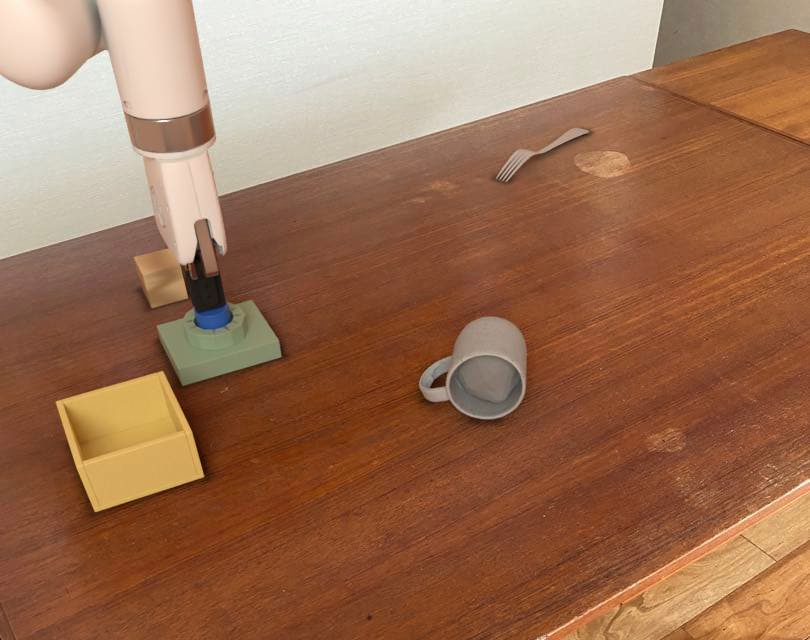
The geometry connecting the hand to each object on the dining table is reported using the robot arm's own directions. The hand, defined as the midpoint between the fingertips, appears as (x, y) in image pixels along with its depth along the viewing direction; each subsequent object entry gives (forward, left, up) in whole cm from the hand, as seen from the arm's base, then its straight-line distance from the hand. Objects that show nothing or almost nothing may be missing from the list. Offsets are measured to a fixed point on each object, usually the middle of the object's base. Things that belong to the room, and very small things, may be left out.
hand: (209, 305), depth 90 cm
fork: (+57, +25, -6) cm, 62 cm away
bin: (-12, -14, -6) cm, 20 cm away
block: (-2, +14, -6) cm, 15 cm away
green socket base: (0, 0, -6) cm, 6 cm away
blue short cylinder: (0, 0, -2) cm, 2 cm away
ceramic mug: (+21, -20, -6) cm, 29 cm away
